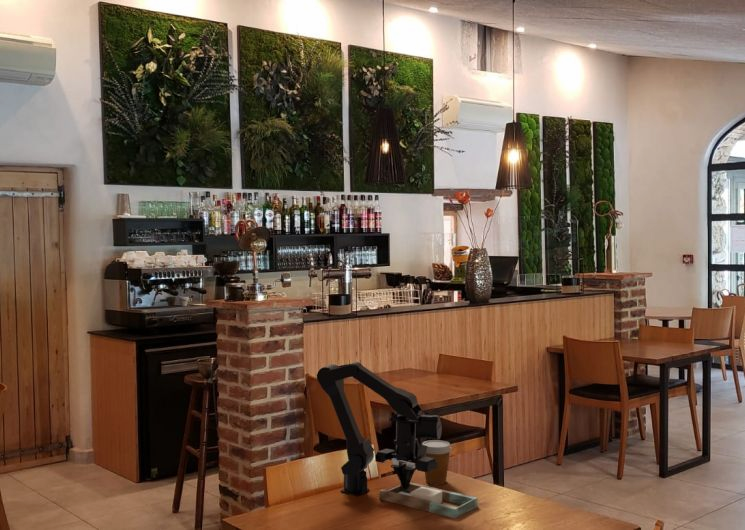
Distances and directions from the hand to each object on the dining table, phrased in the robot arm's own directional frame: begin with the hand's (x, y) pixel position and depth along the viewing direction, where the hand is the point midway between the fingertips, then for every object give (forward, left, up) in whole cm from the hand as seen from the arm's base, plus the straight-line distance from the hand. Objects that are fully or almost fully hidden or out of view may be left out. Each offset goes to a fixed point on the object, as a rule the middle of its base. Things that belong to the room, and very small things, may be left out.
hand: (405, 488), depth 241 cm
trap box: (+8, 0, -2) cm, 8 cm away
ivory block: (+7, 0, -3) cm, 8 cm away
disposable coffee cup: (-1, +18, -3) cm, 18 cm away
